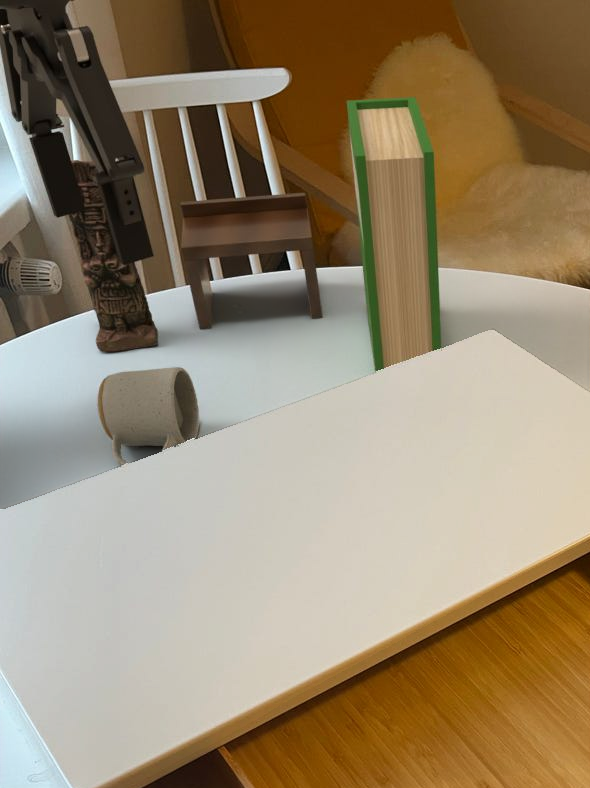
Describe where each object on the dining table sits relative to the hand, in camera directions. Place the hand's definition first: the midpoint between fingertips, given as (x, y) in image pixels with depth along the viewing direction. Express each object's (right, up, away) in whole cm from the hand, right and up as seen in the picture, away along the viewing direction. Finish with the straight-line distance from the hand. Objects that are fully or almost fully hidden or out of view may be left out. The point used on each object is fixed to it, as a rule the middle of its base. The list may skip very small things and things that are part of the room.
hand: (102, 235), depth 82 cm
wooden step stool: (+5, +7, +37) cm, 38 cm away
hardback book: (+24, 0, +30) cm, 38 cm away
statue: (-9, +1, +32) cm, 33 cm away
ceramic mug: (0, -16, +15) cm, 22 cm away
